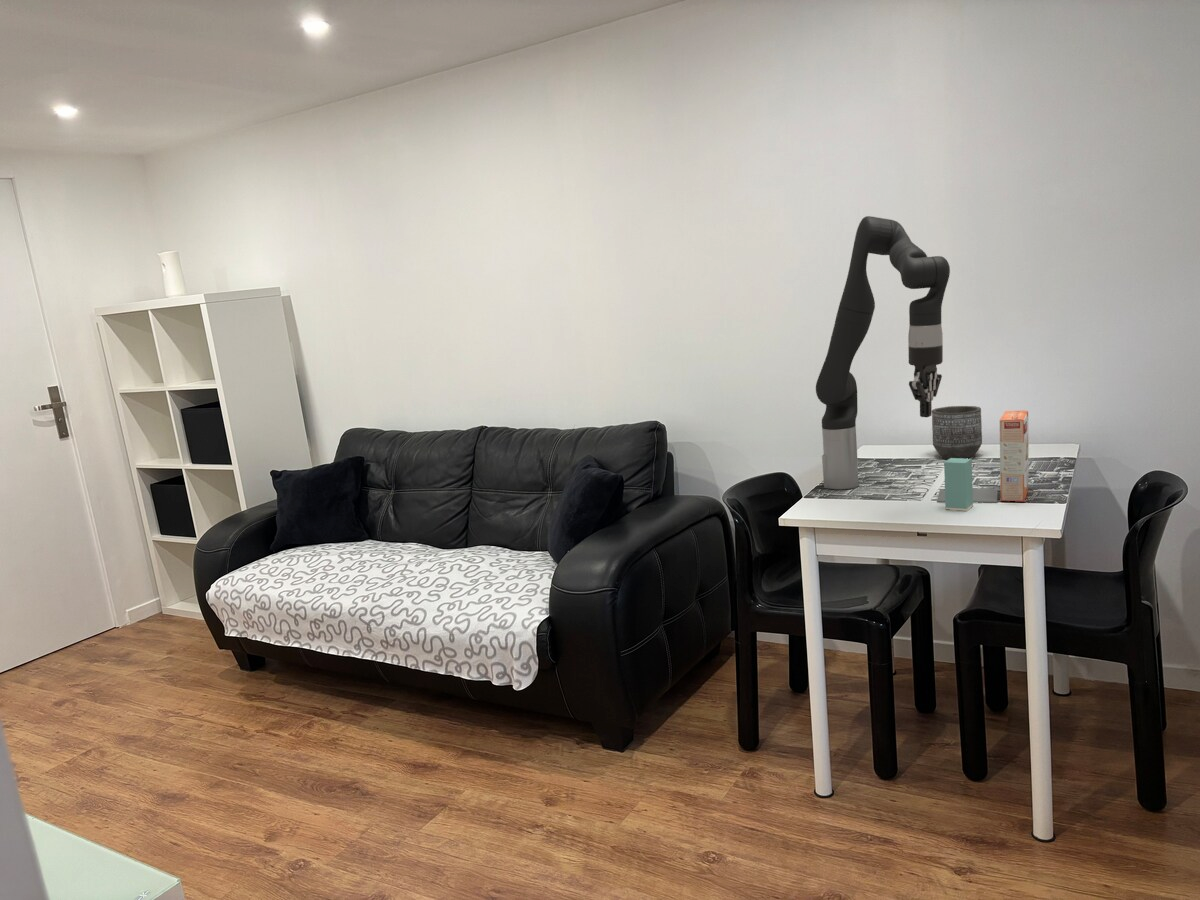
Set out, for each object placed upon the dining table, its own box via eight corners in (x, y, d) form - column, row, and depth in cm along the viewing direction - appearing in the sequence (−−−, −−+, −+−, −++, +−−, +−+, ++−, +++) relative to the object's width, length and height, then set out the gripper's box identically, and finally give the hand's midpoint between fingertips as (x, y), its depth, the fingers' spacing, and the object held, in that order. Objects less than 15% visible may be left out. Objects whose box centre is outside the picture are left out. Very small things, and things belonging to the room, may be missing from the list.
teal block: (945, 509, 214) (944, 462, 212) (952, 504, 218) (950, 458, 216) (966, 511, 211) (965, 463, 209) (973, 506, 215) (971, 458, 213)
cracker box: (1026, 502, 213) (1025, 418, 209) (999, 502, 216) (997, 419, 212) (1030, 489, 225) (1029, 409, 221) (1004, 488, 228) (1003, 410, 224)
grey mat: (936, 502, 221) (936, 501, 221) (940, 490, 233) (940, 488, 233) (997, 503, 215) (997, 501, 215) (997, 490, 227) (997, 488, 227)
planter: (924, 459, 272) (923, 412, 269) (946, 450, 281) (944, 405, 278) (969, 462, 261) (968, 413, 259) (990, 453, 270) (989, 406, 268)
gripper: (928, 347, 196) (928, 422, 200) (953, 340, 205) (953, 412, 209) (897, 347, 202) (897, 420, 205) (922, 340, 211) (922, 410, 214)
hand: (925, 416), depth 207 cm, fingers closed
